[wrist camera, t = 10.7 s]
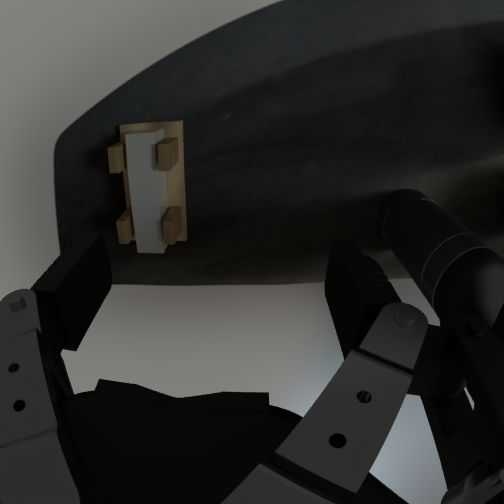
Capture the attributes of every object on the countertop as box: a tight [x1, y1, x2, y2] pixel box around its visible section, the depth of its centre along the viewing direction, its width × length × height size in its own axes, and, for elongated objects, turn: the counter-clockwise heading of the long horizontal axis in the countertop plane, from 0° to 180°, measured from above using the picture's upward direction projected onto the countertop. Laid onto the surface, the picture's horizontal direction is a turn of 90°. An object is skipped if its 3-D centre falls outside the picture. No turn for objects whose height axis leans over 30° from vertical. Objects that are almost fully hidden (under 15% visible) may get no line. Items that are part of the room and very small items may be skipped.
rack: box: [108, 120, 188, 245], centre depth 37 cm, size 8×16×6 cm, turn 178°
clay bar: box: [125, 128, 168, 253], centre depth 38 cm, size 4×15×4 cm, turn 179°
